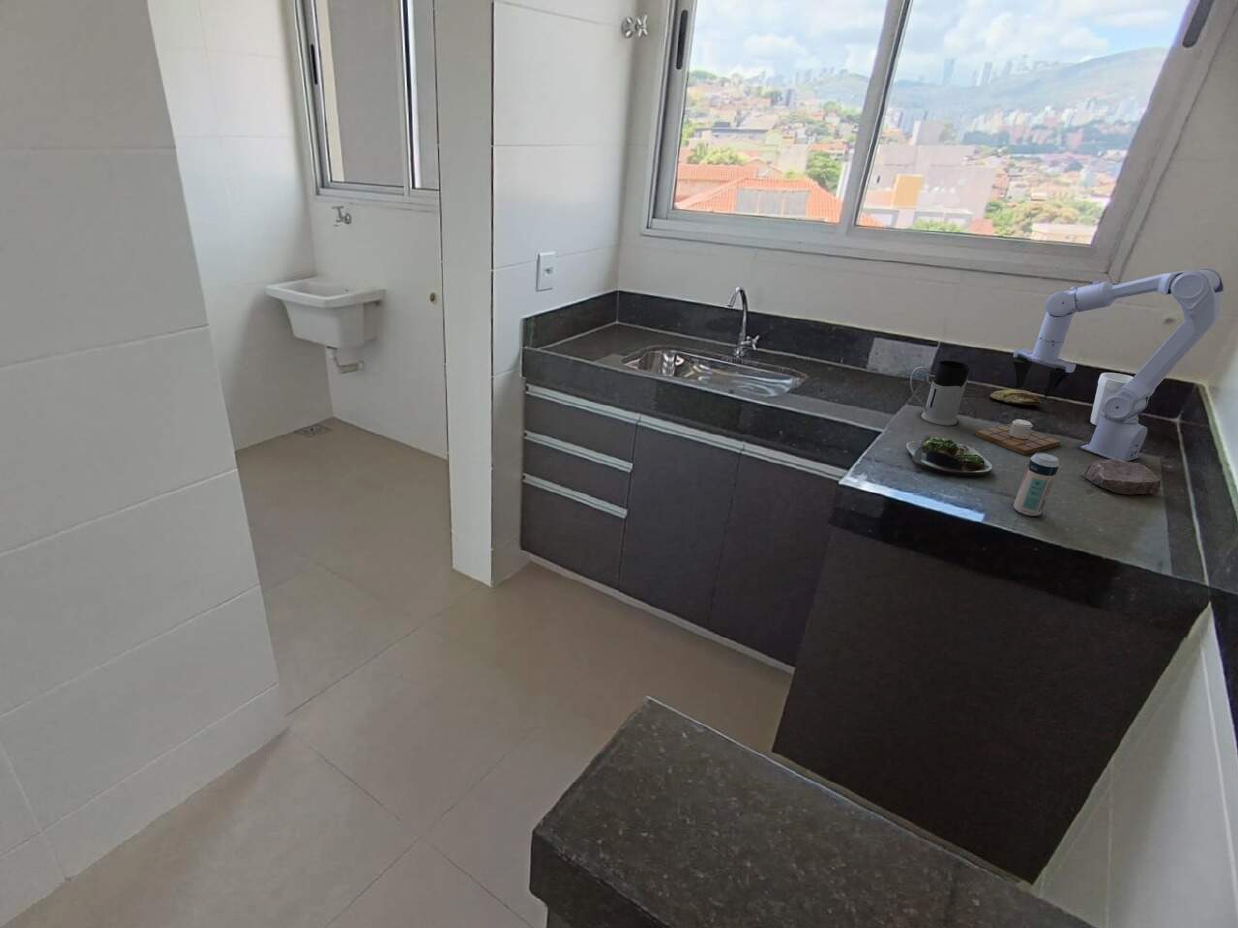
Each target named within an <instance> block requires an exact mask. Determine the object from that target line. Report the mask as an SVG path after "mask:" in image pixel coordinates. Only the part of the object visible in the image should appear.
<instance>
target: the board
mask: <svg viewBox="0 0 1238 928" xmlns="http://www.w3.org/2000/svg"><path fill="white" fill-rule="evenodd" d="M1011 425H1012V422H1011V423H1007V424H1002V425H998V426H994V427H990V428H984V429H982V430H977V432H976V437H978V438H981V439H984V440H986V441H988V442H991V443H994V444H996V445H998V446H1001V447H1003V448H1005V449H1008V450H1011V451H1013V452H1016V453H1018V454H1020V455H1023V456H1026V455H1029V454H1033V453H1038V452H1041V451H1045V450H1048V449H1051V448H1056V447H1058V446H1060V443H1061V440H1058V439H1055V438H1053V437H1050V436H1048V435H1045V434H1043V433H1040V432H1038V431H1034V430H1032V429H1031V432H1030V435H1029V438H1028V439H1020V438H1015V437H1013V436H1011V435H1009V431H1010V428H1011Z"/></svg>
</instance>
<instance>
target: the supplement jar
mask: <svg viewBox="0 0 1238 928" xmlns="http://www.w3.org/2000/svg"><path fill="white" fill-rule="evenodd" d="M1059 467H1060V461H1059V458H1058V457H1057V456H1056V455H1053V454H1051V453H1046V452H1035V453H1034V454H1033V455H1032V456H1031V457H1030V459H1029V461H1028V464H1027V466H1026V470H1025V472H1024V475H1023V478H1022V481H1021V482H1020V483H1021V484H1020V486H1019V490H1018V492H1017V495H1016V498H1015V501H1014V503H1013V508H1014V510H1016V511H1017V512H1018V513H1019V514H1022V515H1024V516H1028V517H1034V516H1040V515H1041V514H1042V511H1043V509H1044V506H1045V503H1046V501H1047V499H1048V497H1049V493H1050V491H1051V488H1052V485H1053V483H1054V480H1055V478H1056V475H1057V472H1058V469H1059Z"/></svg>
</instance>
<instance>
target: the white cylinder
mask: <svg viewBox="0 0 1238 928" xmlns="http://www.w3.org/2000/svg"><path fill="white" fill-rule="evenodd" d="M1011 423H1012V425H1011V428H1010V431H1009V435H1011V436H1013V437H1015V438H1020V439H1028V438H1029V435H1030V432H1031V430H1032V429H1033V426H1034V425H1033V424H1032V422H1031V421H1028V420H1025V419H1020V418H1019V419H1018V418H1017V419H1015V420H1013V421H1011Z"/></svg>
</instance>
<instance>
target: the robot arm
mask: <svg viewBox="0 0 1238 928" xmlns="http://www.w3.org/2000/svg"><path fill="white" fill-rule="evenodd" d="M1069 289H1070V290H1058V291H1057V292H1055V293H1052V294H1050V296H1048V297H1047V298H1046V301H1045V304H1044V309H1045V310H1046V313H1045V314H1044V319H1043V321H1042V324H1041V327H1040V330H1039V333H1038V336H1037V339H1036V342H1035V345H1034V348H1033V350H1032V351H1030V350H1026V349H1022V348H1018V349H1014V352H1013V355H1012V357H1013V358H1016V359H1013V362H1012V364H1013V367H1014V371H1015V387H1016V388H1021V387H1023V386H1024V385H1025V381H1026V378H1027V375H1028V373H1029V371H1030V368H1031V367H1032V365H1033V363H1036V364H1040V365H1042V366H1047V367H1049V368H1054V369H1050V370H1049V376H1048V382H1047V386H1046V388H1045V390H1044V395H1043V396H1044V397H1046V398H1048V397H1052V395H1053V393H1054V392H1055V390H1056V389H1057V388H1058V386H1060V384H1061V383H1062V382H1063V381H1064V380H1065V379H1066V378H1067V377H1068V376H1069V375H1071V373H1074V372H1075V369H1076V366H1077V364H1075V363H1072V362H1069V361H1067V360H1065V359H1062V358H1059V357H1060V355H1061V352H1062V348H1063V345H1064V343H1065V340H1066V338H1067V335H1068V333H1069V332H1068V331H1069V329H1070V326H1071V323H1072V320H1073V317H1074V315H1075V313H1077V312H1078V313H1081V312H1082V313H1083V312H1087V311H1092V310H1097V309H1101V308H1106V307H1107V308H1108V307H1110V306H1111V305H1112V304H1114V303H1115V301H1116V300H1117V299H1120V298H1121V299H1122V298H1128V297H1132V296H1137V295H1142V294H1148V293H1153V292H1157V293H1160V294H1162V295H1165V296H1167V295H1172V297H1173V298H1174V299H1175V300H1176V302H1177V303H1178V304H1179V305H1180V307H1181V309H1182V313H1183V317H1184V320H1183V321H1182V322H1181V323H1180V325H1179V326H1177V328H1176V329H1175V330H1174V331H1173V333H1171V335H1170V336H1169V337H1168V338H1167V339H1166V340H1165V341H1164V342H1163V344H1161V346H1160V347H1159V348H1158V349H1157V350H1156V352H1154V354H1153V355H1152V356H1151V357H1150V358H1149V359H1148V361H1146V363H1144V365H1143V366H1142V367H1141V368H1140V369H1139V371H1137V373H1135V375H1134V376H1132V377H1133V378H1132V379H1131V380H1130V381H1129V382H1128V383H1127V384H1125V385H1124V386H1123V387H1122V388H1121V389H1120V390H1119V391H1118V392H1117V393H1115V394H1113V395H1110V396H1109V397H1107V398H1106V399H1105V400H1104V402H1103V404H1102V410H1103V412H1102V414H1101V417H1100V419H1099V422H1098V424H1097V425H1096V427H1095V429H1094V431H1093V435H1092V437H1091V440H1090V441H1089V443H1087V444H1084V445H1081V446H1080V449H1082V450H1084V451H1087V452H1090V453H1093V454H1095V455H1098V456H1101V457H1103V458H1106V459H1108V460H1111V459H1115V460H1119V461H1122V462H1131V461H1132V460H1136V459H1138V458H1139V454H1140V451H1141V449H1142V447H1143V445H1144V443H1145V440H1146V437H1147V435H1148V427H1147V426H1144V425H1142V424H1140V423H1139V415H1138V414H1140V413H1142V412H1143V411H1144V410H1145V409H1147V406H1148V403H1149V399H1150V398H1151V396H1152V395H1153V394H1155V390H1156V388H1157V387H1158V386H1159V385H1160V384H1161V383H1162V382H1163V381H1164V380H1165V379H1166V378H1167V376H1168V375H1169V374H1170V373H1171V372H1172V371H1173V370H1174V369H1175V368H1176V367H1177V366H1178V364H1180V363H1181V361H1182V360H1183V359H1184V358H1185V357H1186V356H1187V355H1188V354H1189V353H1190V352H1191V351H1192V349H1193V348H1194V347H1195V346H1196V345H1197V344H1198V343H1200V342H1201V340H1202V339H1203V338H1204V337H1205V335H1207V334H1208V332H1209V331H1210V330H1212V328H1213V327H1214V326H1215V325H1216V324H1217V322H1218V321H1219V319H1220V313H1221V306H1222V300H1223V295H1224V292H1225V290H1226V287H1225V284H1224V281H1223V278H1222V276H1221V274H1220V273H1219V272H1218V271H1217V270H1214V269H1211V268H1200V269H1196V270H1183V271H1174V272H1166V273H1160V274H1156V275H1152V276H1147V277H1145V278H1144V277H1143V278H1140V279H1139V278H1138V279H1135V280H1132V281H1131V280H1130V281H1128V282H1124V283H1119V284H1116V285H1115V284H1113V283H1111V282H1109V281H1102V280H1101V279H1100V280H1096V281H1093V282H1092V284H1090V285H1085V286H1080V287H1077V286H1072V287H1070V288H1069Z"/></svg>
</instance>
